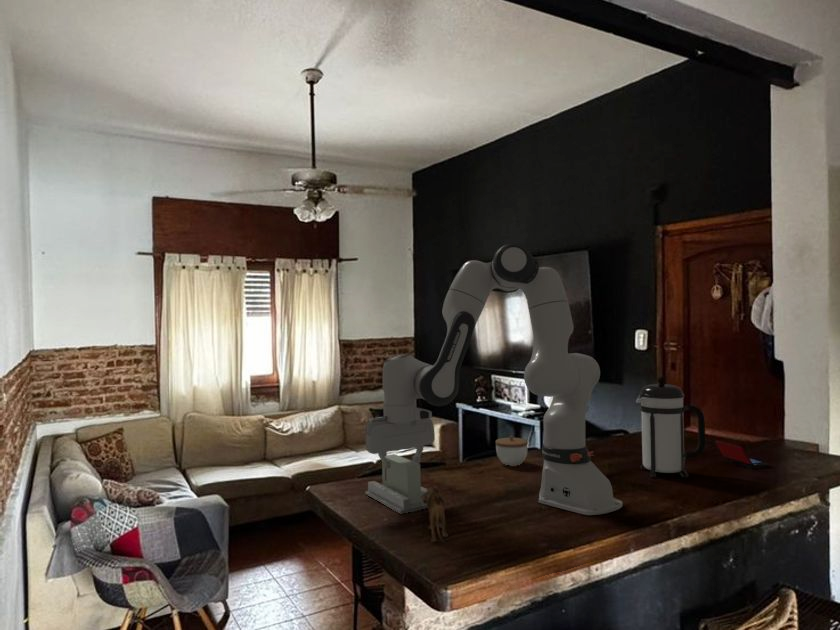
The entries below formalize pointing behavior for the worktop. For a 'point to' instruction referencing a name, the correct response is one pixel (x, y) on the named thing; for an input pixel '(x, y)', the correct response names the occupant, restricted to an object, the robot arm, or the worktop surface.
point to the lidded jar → (511, 450)
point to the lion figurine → (435, 511)
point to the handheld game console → (739, 455)
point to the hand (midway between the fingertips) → (401, 465)
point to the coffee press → (666, 429)
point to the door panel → (403, 477)
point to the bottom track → (413, 506)
